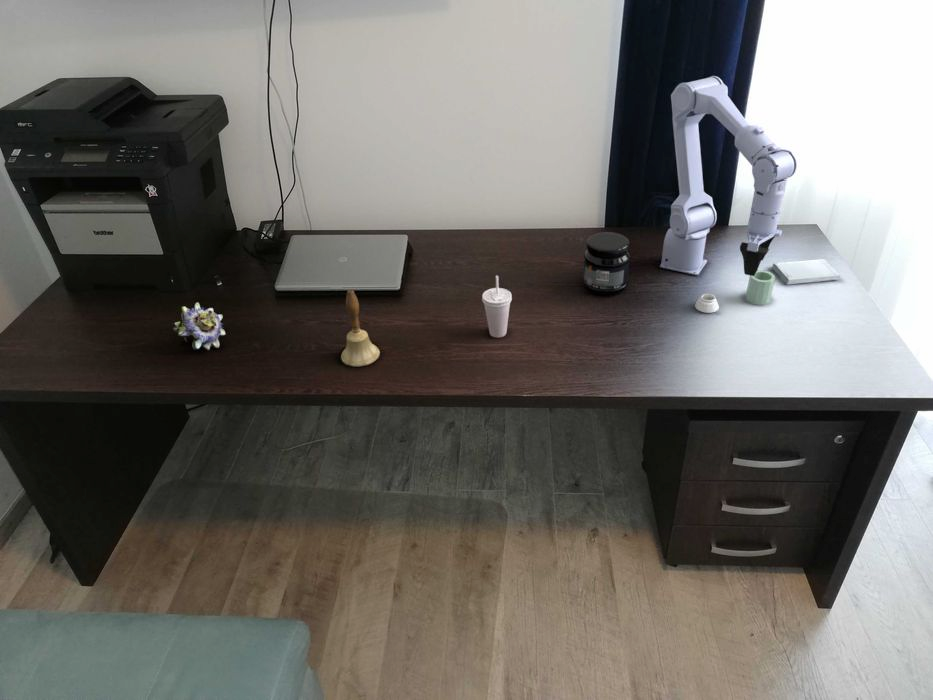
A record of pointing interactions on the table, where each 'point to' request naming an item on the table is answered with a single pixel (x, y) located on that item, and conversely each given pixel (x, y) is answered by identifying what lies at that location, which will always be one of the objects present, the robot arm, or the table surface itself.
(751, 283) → the cup
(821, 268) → the hard drive
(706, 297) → the white jar
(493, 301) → the smoothie
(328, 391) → the table surface
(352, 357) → the hand bell
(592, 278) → the supplement container
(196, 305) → the passion flower
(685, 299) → the table surface
